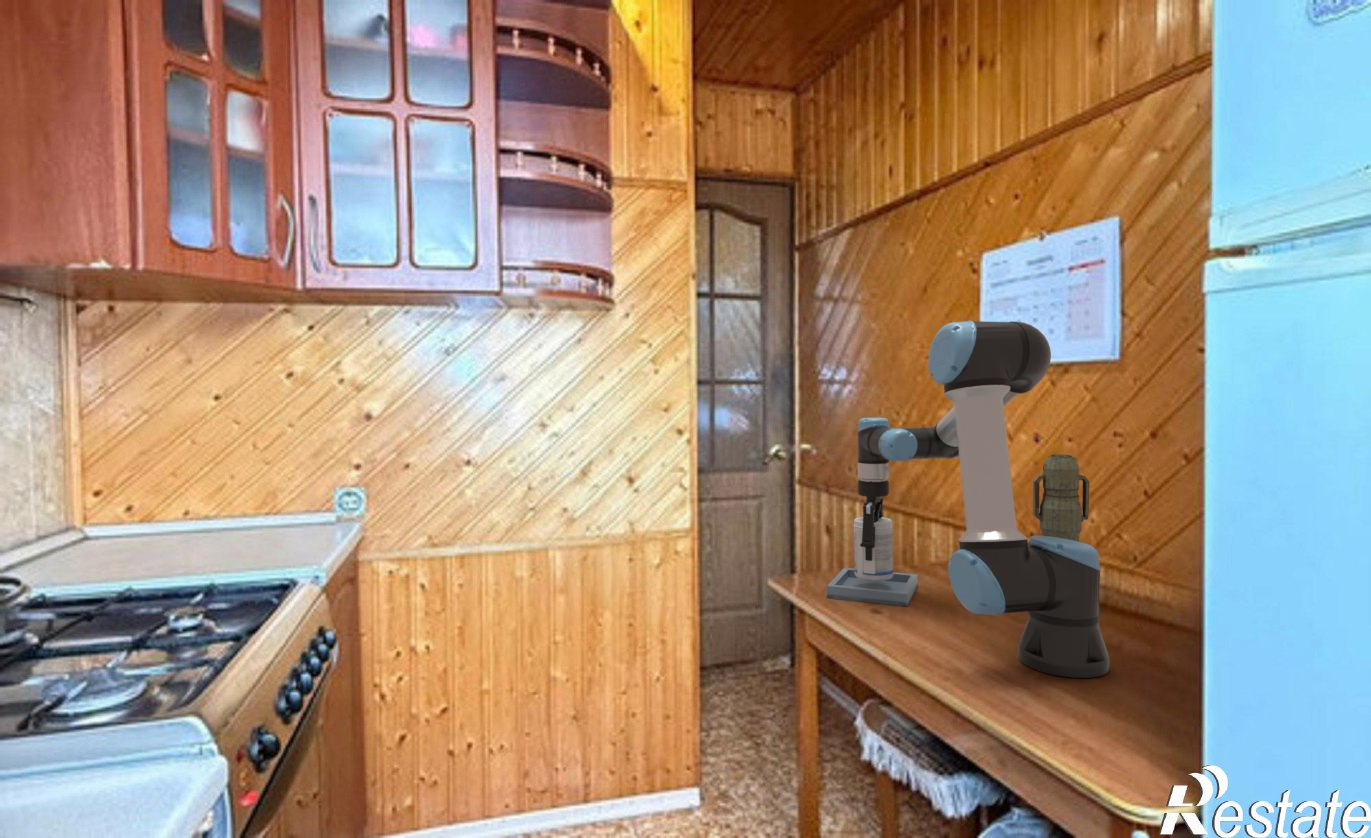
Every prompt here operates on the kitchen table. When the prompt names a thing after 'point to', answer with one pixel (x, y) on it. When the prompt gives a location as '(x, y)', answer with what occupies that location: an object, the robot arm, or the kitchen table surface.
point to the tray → (873, 588)
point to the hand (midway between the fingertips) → (873, 568)
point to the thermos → (1061, 498)
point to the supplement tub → (881, 550)
